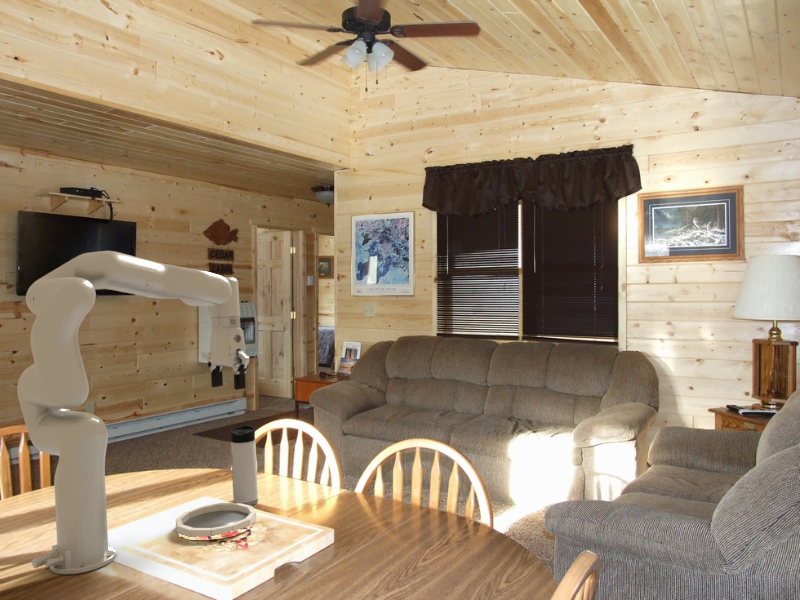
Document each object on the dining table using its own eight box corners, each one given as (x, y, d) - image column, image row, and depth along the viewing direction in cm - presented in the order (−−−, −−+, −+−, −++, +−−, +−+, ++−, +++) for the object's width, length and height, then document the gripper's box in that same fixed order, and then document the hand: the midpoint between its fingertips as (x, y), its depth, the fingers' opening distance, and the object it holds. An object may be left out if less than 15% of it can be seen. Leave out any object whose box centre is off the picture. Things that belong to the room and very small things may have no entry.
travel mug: (261, 498, 170) (258, 424, 170) (253, 507, 164) (250, 430, 164) (238, 498, 171) (235, 425, 171) (230, 507, 164) (226, 430, 164)
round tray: (209, 547, 139) (209, 535, 139) (161, 531, 149) (160, 520, 149) (270, 520, 153) (270, 510, 153) (222, 508, 164) (222, 498, 164)
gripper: (257, 322, 166) (260, 387, 166) (217, 322, 176) (220, 383, 177) (234, 324, 160) (237, 392, 160) (194, 324, 171) (197, 387, 171)
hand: (228, 387), depth 168 cm, fingers open, 9 cm apart
